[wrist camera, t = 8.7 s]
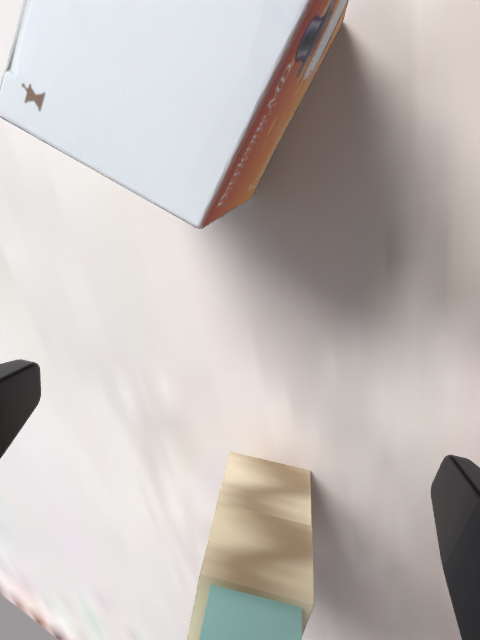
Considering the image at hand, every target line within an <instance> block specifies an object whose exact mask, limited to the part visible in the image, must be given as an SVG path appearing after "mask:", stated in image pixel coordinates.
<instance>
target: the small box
mask: <svg viewBox="0 0 480 640" xmlns="http://www.w3.org/2000/svg"><path fill="white" fill-rule="evenodd" d="M348 1H349V0H24V1H23V5H22V9H21V13H20V17H19V21H18V25H17V29H16V33H15V36H14V40H13V44H12V47H11V51H10V55H9V59H8V62H7V65H6V67H5V70H4V73H3V76H2V80H1V84H0V117H1V118H2V119H4V120H6V121H8V122H9V123H11V124H13V125H15V126H17V127H18V128H20V129H22V130H24V131H26V132H27V133H29V134H31V135H33V136H34V137H36V138H38V139H40V140H41V141H43V142H45V143H47V144H49V145H50V146H52V147H54V148H56V149H58V150H59V151H61V152H63V153H65V154H66V155H68V156H70V157H72V158H74V159H75V160H77V161H79V162H81V163H83V164H84V165H86V166H88V167H90V168H91V169H93V170H95V171H97V172H98V173H100V174H102V175H104V176H106V177H107V178H109V179H111V180H113V181H114V182H116V183H118V184H120V185H121V186H123V187H125V188H127V189H128V190H130V191H132V192H134V193H136V194H137V195H139V196H141V197H143V198H144V199H146V200H148V201H150V202H151V203H153V204H155V205H157V206H159V207H160V208H162V209H164V210H166V211H167V212H169V213H171V214H173V215H174V216H176V217H178V218H180V219H182V220H183V221H185V222H187V223H189V224H190V225H192V226H193V227H195V228H199V229H202V228H204V227H205V226H207V225H209V224H210V223H212V222H213V221H215V220H216V219H218V218H220V217H222V216H223V215H225V214H226V213H228V212H229V211H231V210H233V209H234V208H236V207H237V206H239V205H241V204H242V203H244V202H246V201H247V200H249V199H250V198H252V196H253V194H254V192H255V190H256V188H257V186H258V184H259V182H260V180H261V178H262V176H263V174H264V172H265V170H266V168H267V166H268V164H269V162H270V160H271V158H272V156H273V154H274V152H275V150H276V148H277V146H278V144H279V142H280V140H281V138H282V136H283V134H284V132H285V131H286V129H287V127H288V125H289V123H290V121H291V119H292V118H293V116H294V114H295V112H296V110H297V108H298V106H299V104H300V103H301V101H302V99H303V97H304V95H305V93H306V91H307V90H308V88H309V86H310V84H311V82H312V80H313V78H314V76H315V74H316V73H317V71H318V69H319V67H320V65H321V63H322V61H323V59H324V57H325V56H326V54H327V52H328V50H329V48H330V46H331V44H332V42H333V40H334V39H335V37H336V35H337V33H338V31H339V29H340V27H341V25H342V22H343V20H344V16H345V12H346V8H347V4H348Z"/></svg>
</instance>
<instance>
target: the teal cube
mask: <svg viewBox="0 0 480 640" xmlns="http://www.w3.org/2000/svg"><path fill="white" fill-rule="evenodd" d="M199 640H302V608H301V607H297V606H294V605H290V604H286V603H282V602H278V601H274V600H270V599H267V598H263V597H259V596H255V595H251V594H247V593H243V592H240V591H236V590H232V589H228V588H224V587H220V586H216V585H213V584H211V586H210V591H209V596H208V600H207V605H206V609H205V614H204V618H203V623H202V628H201V632H200V637H199Z"/></svg>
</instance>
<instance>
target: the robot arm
mask: <svg viewBox="0 0 480 640" xmlns="http://www.w3.org/2000/svg"><path fill="white" fill-rule="evenodd" d="M40 397H41V380H40V367H39V365H38V364H37V363H35V362H30V361H26V360H15V361H11V362H7V363H2V364H0V458H1V457H2V456H3V454H4V453H5V452H6V450H7V449H8V447H9V446H10V444H11V443H12V441H13V440H14V439H15V437H16V436H17V434H18V433H19V431H20V430H21V428H22V427H23V425H24V424H25V423H26V421H27V420H28V418H29V417H30V415H31V414H32V412H33V411H34V409H35V408H36V407H37V405H38V403H39V401H40ZM431 499H432V505H433V511H434V518H435V524H436V530H437V536H438V542H439V549H440V555H441V560H442V565H443V570H444V574H445V578H446V582H447V586H448V589H449V593H450V597H451V601H452V604H453V608H454V612H455V615H456V619H457V623H458V626H459V630H460V634H461V637H462V640H480V468H479V467H478V466H477V465H475V464H474V463H473V462H472V461H471V460H469V459H467V458H463V457H458V456H454V455H447V456H446V457H445V458H444V459H443V461H442V463H441V465H440V467H439V470H438V472H437V474H436V476H435V478H434V481H433V483H432V486H431Z"/></svg>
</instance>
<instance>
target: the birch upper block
mask: <svg viewBox="0 0 480 640" xmlns="http://www.w3.org/2000/svg"><path fill="white" fill-rule="evenodd" d="M211 584H213V585H216V586H220V587H224V588H228V589H232V590H236V591H240V592H243V593H247V594H251V595H255V596H259V597H263V598H267V599H270V600H274V601H278V602H282V603H286V604H290V605H294V606H297V607H301V608H302V635H303V632H304V630H305V627H306V625H307V622H308V619H309V617H310V614H311V611H312V609H313V606H314V579H313V536H312V526H311V525H307V524H303V523H299V522H295V521H291V520H287V519H283V518H279V517H275V516H271V515H267V514H263V513H259V512H255V511H251V510H247V509H243V508H239V507H235V506H231V505H227V504H223V503H219V502H218V504H217V508H216V512H215V516H214V520H213V524H212V528H211V532H210V536H209V540H208V544H207V548H206V552H205V556H204V560H203V564H202V568H201V572H200V576H199V581H198V586H197V592H196V597H195V602H194V607H193V612H192V617H191V622H190V627H189V632H188V637H187V640H199V637H200V632H201V628H202V623H203V618H204V614H205V609H206V605H207V600H208V596H209V591H210V586H211Z"/></svg>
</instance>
